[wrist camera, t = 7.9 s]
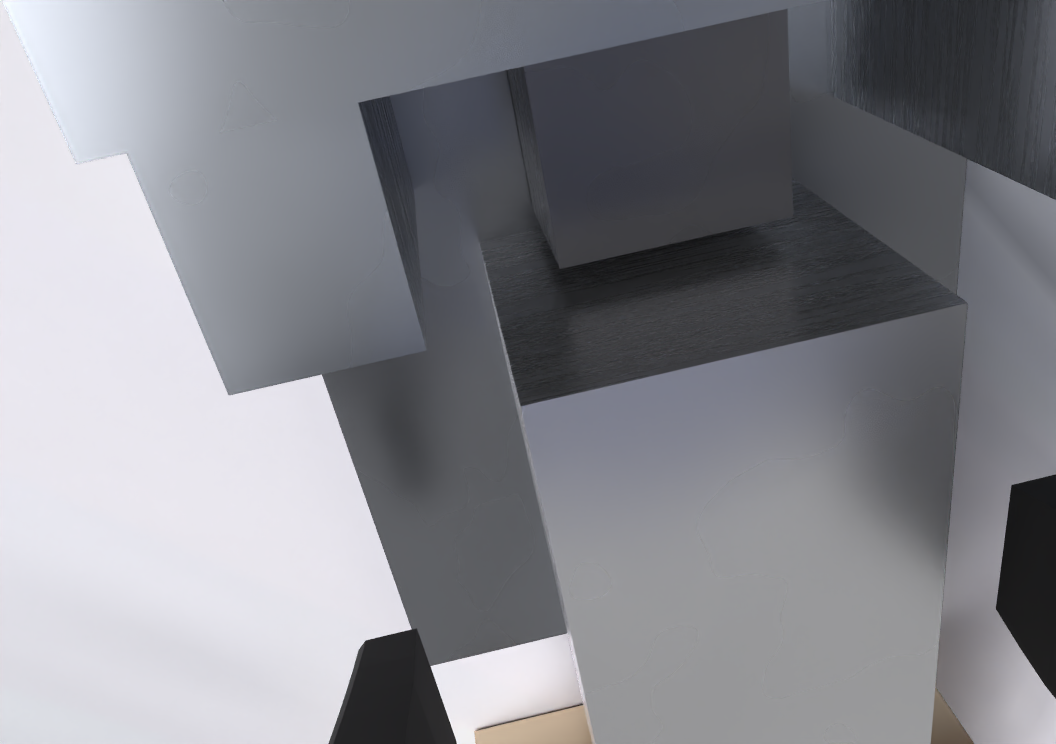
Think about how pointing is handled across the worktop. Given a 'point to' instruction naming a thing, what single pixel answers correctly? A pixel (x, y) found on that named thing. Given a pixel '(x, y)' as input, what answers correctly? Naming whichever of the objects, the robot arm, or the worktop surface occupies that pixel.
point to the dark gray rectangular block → (658, 138)
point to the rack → (566, 740)
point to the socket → (479, 209)
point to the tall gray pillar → (741, 476)
